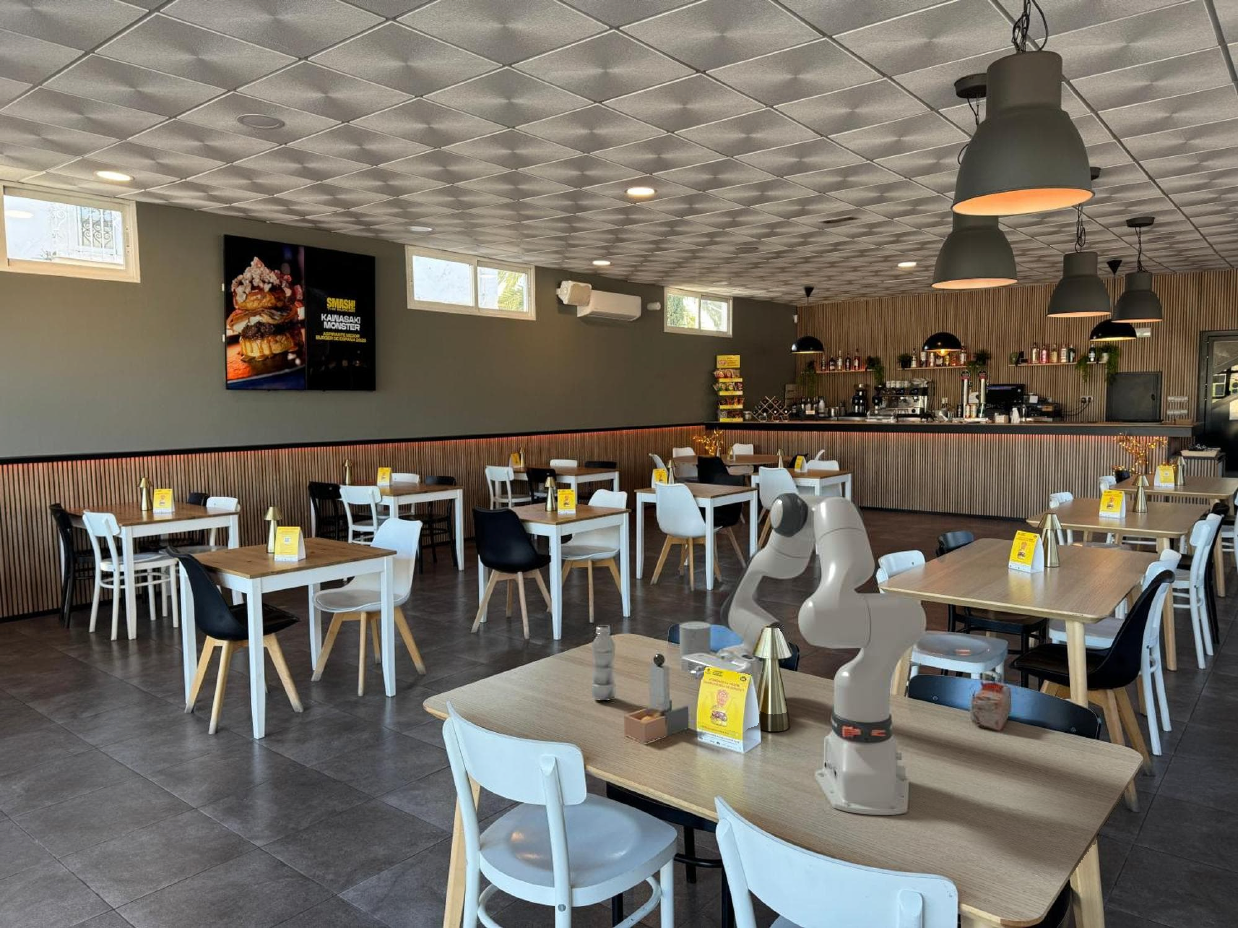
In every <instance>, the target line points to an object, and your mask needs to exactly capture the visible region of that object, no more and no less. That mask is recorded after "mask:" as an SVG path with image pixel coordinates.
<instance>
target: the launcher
mask: <svg viewBox="0 0 1238 928" xmlns="http://www.w3.org/2000/svg"><path fill="white" fill-rule="evenodd" d="M672 701H673V700H672V699H670V708H669V711H668V712H665V713H664V716H665V724H667V735H669V734H671V735H673V734H672V733H674V734H676V733H675V732H677V733H679V732H678V731H680V730H683V729H685V728H688V727H689V726H690V725H689V724H690V723H689V715H690V714H689V705H683V706H680V707H677V708H674V709H673V702H672ZM646 715H648V706H647V707H646ZM688 729H689V728H688ZM685 730H686V729H685ZM683 731H684V730H683ZM680 732H681V731H680ZM669 736H670V735H669Z"/></svg>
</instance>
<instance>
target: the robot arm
mask: <svg viewBox="0 0 1238 928" xmlns="http://www.w3.org/2000/svg"><path fill="white" fill-rule="evenodd" d="M769 512H770V513H769V521H770V526H771V528H772V529H771V532H770V536H769V539H768V541H767V544H766V545H765V547H764V548H762V547H761V548H758V549H756V550H755V551H754V552H753V553H752V554H751V556H750V557H749V558H748V561H747V562H746V564H745V566H744V568H743V570H742V571H741V573H740V574H739V575H740V576H739V577H738V580H737V581H736V583H735V585H734V587H733V589H732V590H731V593H730V594H729V596H728V597H727V598H726V600H724V602H723V604H722V606H721V608H720V622H721V624H722V625H723V626H724V627H725V628H727V629H728V630H730V631H731V632H733V633H735V634H736V635H737V636H738V637H740V639H742V643H741V644H736V645H735V644H734V645H731V646H727V647H724V648H722V649H721V648H720V649H719V651H717V653H716V655H711V654H710V655H709V654H705V653H695V654H690V655H685V656H683V657H682V658H681V666H680V667H681V670H682V671H684V672H687V673H689V674H690V678H693V679H695V680H698V681H701V680H703V679H702V678H703V676H704V670H705V668H706V667H714V668H720V669H722V670H730V671H735V672H737V673H745V674H748V675H751V676H753V679H754V684H753V685H756V684H757V681H758V675H759V674H762V673H763V672H762V668H763V660H762V659H761V658H756V657H753V655H752V651H753V647H754V645H755V644H756V642H757V641H758V638H759V636H760V634H761V630H762V629H763V628H764V627H766V626H775V627H777V628H779V629H780V631H781V632H782V634H783V636H784V637H785V630H784V629H785V628H784V625H783V623H782V622H780V621H779V620H778V619H777V618H775V617H774V616H773V615H772V614H771V613H769V612H767V611H766V610H764V608H762V607H760V606H759V605H758V604H757V603H756V602H755V601H754V597H753V595H754V594H755V591H756V589H757V587H758V585H759V583H760V582H761V580H762V578H763V577H764V576H766V577H769V578H774V579H780V580H782V579H783V580H785V579H793V578H796V577H797V576H800V575H802V573H803V572H804V571H805V570H806V568H807V566H808V565H809V562H810V559H811V556H812V553H813V549H814V546H815V543H816V548H817V551H818V558H819V562H820V571H821V578H820V581H819V585H818V587H817V588H816V590H815V592H814V593H813V594H812V595H811V596H809V597H808V598H807V599H806V600H805V601H804V602H803V604H802V605H801V607H800V608H799V612H798V618H797V619H798V620H797V623H798V628H799V631H800V633H801V635H802V637H803V638H804V639H805V641H806V642H807V643H808V644H810V645H811V646H816V647H821V648H827V649H857V648H858V649H860V651H859V653H858V654H857V656H855V658H854V659H851V660H850V661H849V662H847V663H845V664H844V665H842V666H841V667H839V669H838V670H837V671H836V673H835V676H834V678H833V709H832V710H831V716H830V717H831V719H830V720H831V729H832V730H831V731H830V732H829V733H828V735H826V736H825V737H824V741H823V742H824V745H823V768H822V769H818V770H816V771H815V773H814V778H815V780H816V782H817V783H818V785H819V786H820V789H821V790H822V792H823V793H824V794H825V796H826V798H827V799H828V802H830V805H831V806H832V807H833V809H838V810H839V811H843V812H848V813H854V814H862V815H875V816H876V815H877V816H879V815H880V816H889V815H891V816H893V815H894V816H895V815H901V814H906V813H907V812H908V807H909V796H910V795H909V793H910V792H909V791H910V779H909V776H907V775H906V766H905V765H899V761H901V760H903V759H902V758H903V754H902V752H899V741H898V740H897V739H896V738H895V737H894V736H893V720H892V714H891V713H890V709H891V708H890V706H891V704H890V703H891V688H892V687H891V686H892V681H893V676H894V674H895V673H894V672H895V670H896V668H897V666H898V664H899V662H900V660H901V659H902V658H903V656H904V655H905V654H906V652H907V651H908V650H909V649H910V648H911V647H913V646H915V644H917V643H918V642H919V641H920V640H921V638H922V637H923V635H924V633H925V632H926V627H927V617H926V613H925V610H924V607H923V606H922V604H921V603H920V602H919V601H918V600H917V598H915V597H913V596H909V595H905V594H900V593H893V592H887V593H886V592H880V593H878V592H877V593H876V592H875V593H871V592H870V593H860V592H859V593H858V592H857V591H856V590H855V589H857V588H858V587H860V586H862V585H863V584H865V583H866V582H867V581H869V579H870V578H871V577H872V576H873V574H874V571H875V568H876V567H875V565H876V564H875V560H874V559H875V558H874V556H873V552H872V548H871V545H870V541H869V537H868V534H867V530H866V528H865V524H864V517H863V514H862V511H861V509H860V507H859V506H858V505H857V504H855V503H853V502H852V501H851V500H849V499H848V498H845V497H843V496H833V497H832V496H830V497H827V496H821V495H817V494H807V493H805V494H803V493H800V494H798V493H795V492H786V493H780V494H778V496H777V497H776V498H775V499H774V500H773V502H772V504H771V507H770V511H769Z"/></svg>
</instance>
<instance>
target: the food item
mask: <svg viewBox="0 0 1238 928" xmlns="http://www.w3.org/2000/svg"><path fill="white" fill-rule="evenodd" d="M980 685H981V687H980V689H979V691H977V693H976V690H974V691H973V693H972V694H971V699H970V702H969V703H970V704H969V705H970V709H969V712H970V714H969V715H970V720H971V722H972V724H973V723H974V725H976V726H978V727H980V728H984V729H988V730H993V731H998V732H1000V731H1001V730H1002V729H1003V727H1004V725H1005V723H1006V721H1007V720H1008V719H1009V716H1010V714H1011V711H1012V692H1011V691H1012V690H1011V687H1009V686H1008V685H1007V684H1004V683H1001V682H997V681H987V682H983V681H982V680H981V681H980Z"/></svg>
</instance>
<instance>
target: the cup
mask: <svg viewBox="0 0 1238 928" xmlns="http://www.w3.org/2000/svg"><path fill="white" fill-rule="evenodd" d="M644 717H648V714H647V708H643V709H640V710H637V711H633V712H630V713H627V714H625V715H624V717H623V718H624V720H623V722H624V726H623V727H624V728H623V729H624V735H625V734H626V735H629V736H631V737H633V738H635V739H636V740H639V741H641V742H643V743H648V742H650V741H653V740H656V739H658V738H662V737H664V736H667V724H665V716H662V717H659V718H656V719H653V720H650V721H647V722H643V721H641V720H642V719H643V718H644ZM667 737H668V736H667ZM662 739H663V738H662ZM648 744H649V743H648Z"/></svg>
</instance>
